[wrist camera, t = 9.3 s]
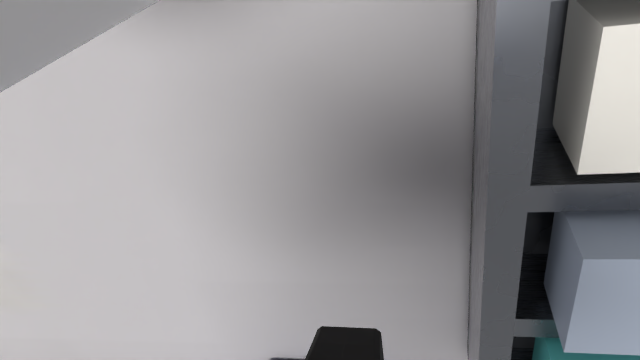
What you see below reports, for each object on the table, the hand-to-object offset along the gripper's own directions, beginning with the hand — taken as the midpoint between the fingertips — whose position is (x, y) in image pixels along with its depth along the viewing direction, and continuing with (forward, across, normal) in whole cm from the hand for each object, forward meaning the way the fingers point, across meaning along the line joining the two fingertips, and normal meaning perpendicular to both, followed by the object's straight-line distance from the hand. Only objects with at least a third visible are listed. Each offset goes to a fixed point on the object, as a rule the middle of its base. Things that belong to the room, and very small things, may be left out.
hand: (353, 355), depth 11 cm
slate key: (+7, -8, +3) cm, 11 cm away
